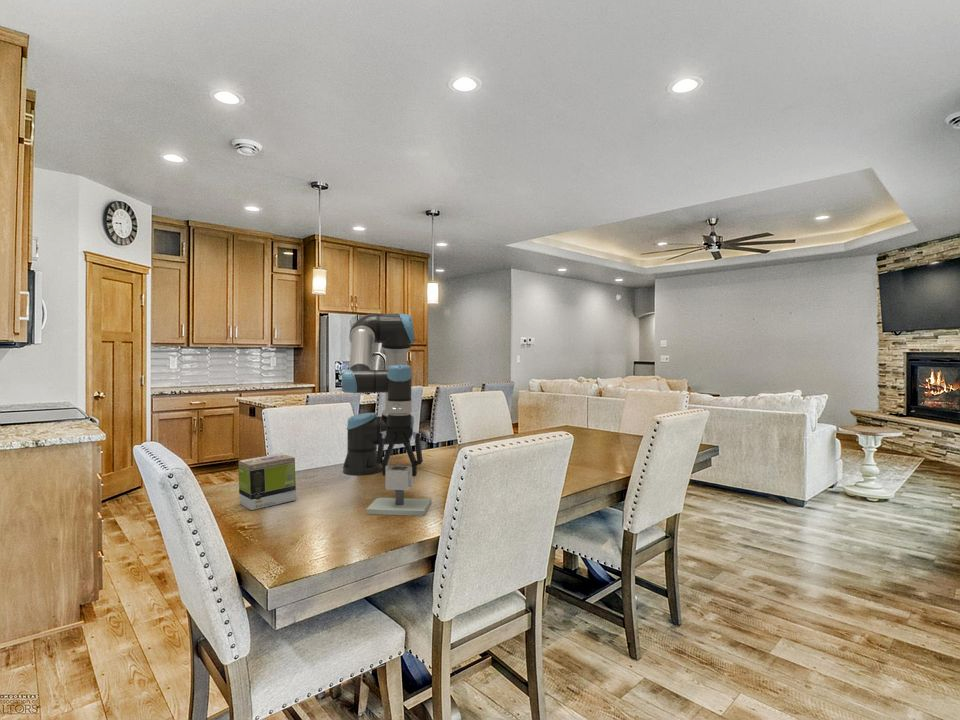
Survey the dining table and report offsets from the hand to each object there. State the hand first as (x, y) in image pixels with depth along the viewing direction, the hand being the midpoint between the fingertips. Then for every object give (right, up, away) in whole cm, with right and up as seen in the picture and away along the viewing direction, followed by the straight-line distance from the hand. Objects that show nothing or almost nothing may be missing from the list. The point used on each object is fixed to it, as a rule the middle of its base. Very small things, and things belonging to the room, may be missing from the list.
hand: (399, 485), depth 165 cm
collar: (0, 0, 0) cm, 0 cm away
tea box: (-44, -7, +6) cm, 45 cm away
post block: (0, -7, 0) cm, 7 cm away
